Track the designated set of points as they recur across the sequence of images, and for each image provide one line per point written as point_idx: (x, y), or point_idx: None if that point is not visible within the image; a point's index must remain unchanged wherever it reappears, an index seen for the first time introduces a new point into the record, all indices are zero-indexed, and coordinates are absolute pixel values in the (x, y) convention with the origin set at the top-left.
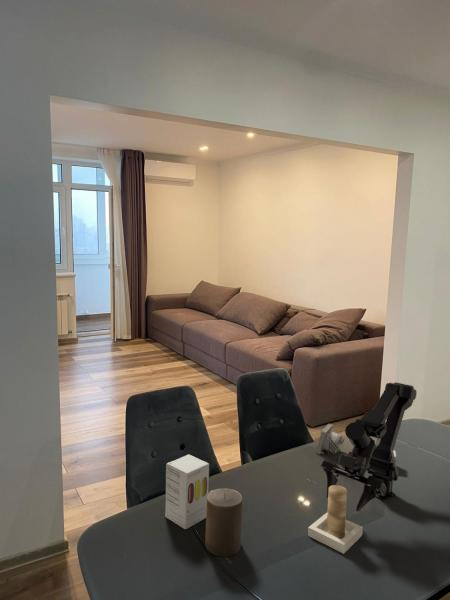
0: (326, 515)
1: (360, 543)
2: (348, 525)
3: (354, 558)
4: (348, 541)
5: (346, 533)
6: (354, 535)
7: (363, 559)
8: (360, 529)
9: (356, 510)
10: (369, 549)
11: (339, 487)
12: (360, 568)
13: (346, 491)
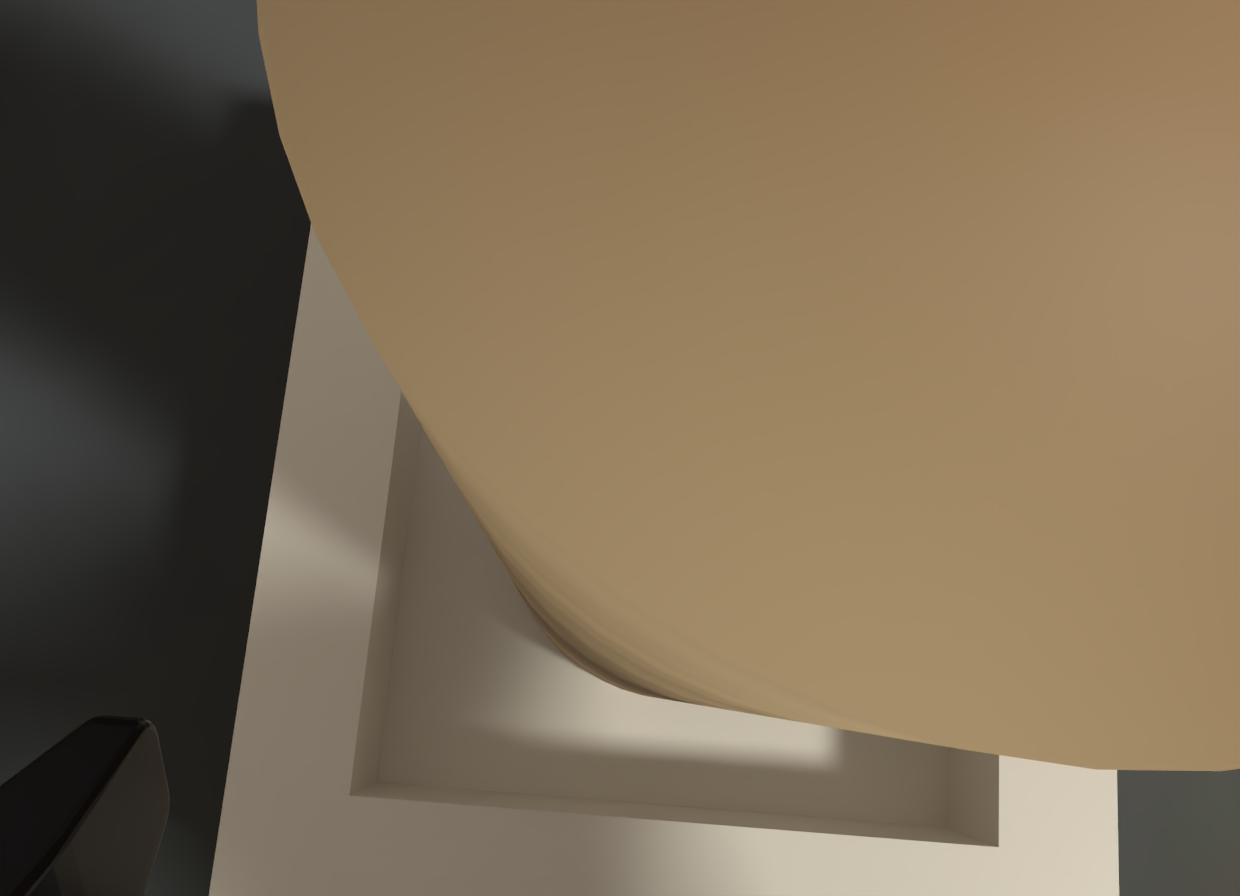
0: (1059, 792)
1: (218, 607)
2: (521, 804)
3: (184, 167)
4: (312, 249)
5: (512, 662)
6: (274, 501)
7: (52, 230)
8: (228, 796)
9: (147, 730)
10: (29, 543)
11: (1171, 362)
12: (37, 14)
13: (312, 75)
